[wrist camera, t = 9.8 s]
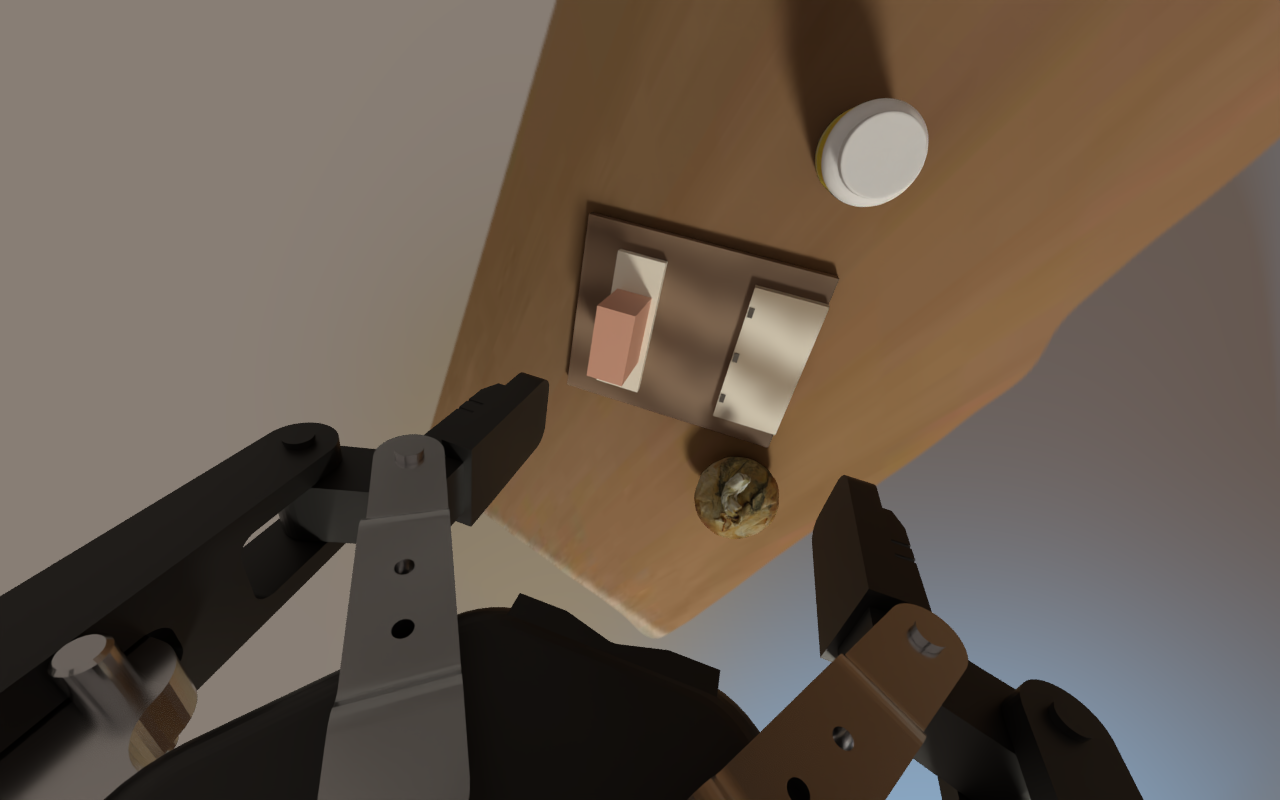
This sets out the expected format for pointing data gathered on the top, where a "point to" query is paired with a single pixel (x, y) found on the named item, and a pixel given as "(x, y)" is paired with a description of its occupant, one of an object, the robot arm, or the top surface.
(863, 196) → the supplement bottle
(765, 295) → the board
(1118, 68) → the top surface
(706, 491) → the onion
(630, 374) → the pink and white block
